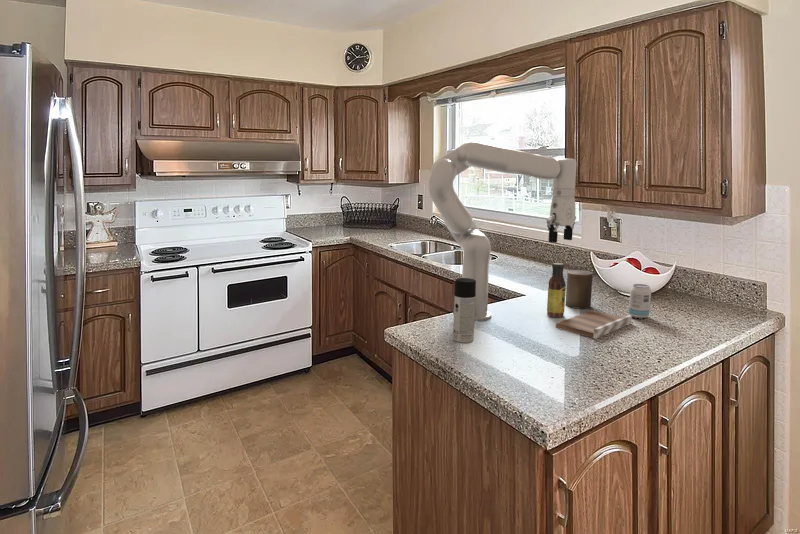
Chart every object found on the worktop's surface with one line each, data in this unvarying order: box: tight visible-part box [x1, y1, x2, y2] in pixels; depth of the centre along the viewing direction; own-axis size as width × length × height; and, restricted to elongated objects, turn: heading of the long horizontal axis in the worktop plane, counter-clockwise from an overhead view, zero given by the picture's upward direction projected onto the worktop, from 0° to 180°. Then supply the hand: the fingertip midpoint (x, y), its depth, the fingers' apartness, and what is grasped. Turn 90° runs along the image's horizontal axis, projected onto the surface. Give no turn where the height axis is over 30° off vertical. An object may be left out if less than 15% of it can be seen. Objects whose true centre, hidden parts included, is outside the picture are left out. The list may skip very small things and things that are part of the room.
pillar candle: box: [565, 269, 594, 310], centre depth 199 cm, size 10×10×15 cm
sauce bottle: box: [546, 262, 567, 318], centre depth 185 cm, size 6×6×20 cm
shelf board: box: [555, 310, 633, 339], centre depth 175 cm, size 24×15×3 cm, turn 130°
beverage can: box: [627, 283, 652, 320], centre depth 184 cm, size 7×7×12 cm
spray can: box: [452, 277, 476, 344], centre depth 159 cm, size 7×7×20 cm
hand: (560, 241), depth 182 cm, fingers open, 9 cm apart
